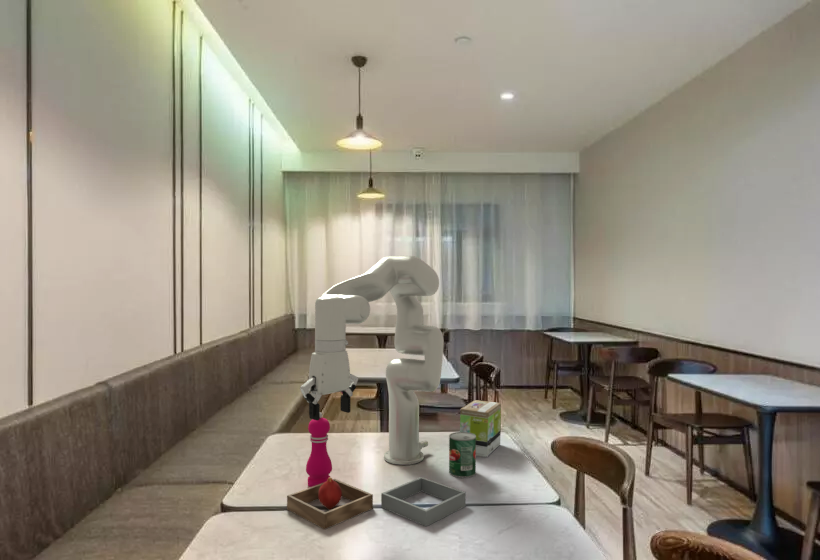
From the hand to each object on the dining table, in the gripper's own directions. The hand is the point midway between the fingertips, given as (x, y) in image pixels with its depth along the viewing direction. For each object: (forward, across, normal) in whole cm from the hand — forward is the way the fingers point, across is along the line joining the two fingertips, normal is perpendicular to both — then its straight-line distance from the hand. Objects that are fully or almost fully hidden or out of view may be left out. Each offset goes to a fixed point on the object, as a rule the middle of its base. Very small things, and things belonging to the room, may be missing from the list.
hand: (330, 415), depth 133 cm
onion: (+24, 0, 0) cm, 24 cm away
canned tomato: (+24, -42, +9) cm, 49 cm away
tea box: (+24, -63, 0) cm, 68 cm away
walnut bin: (+23, 0, 0) cm, 23 cm away
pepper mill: (+24, -8, -15) cm, 29 cm away
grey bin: (+23, -17, +16) cm, 33 cm away
